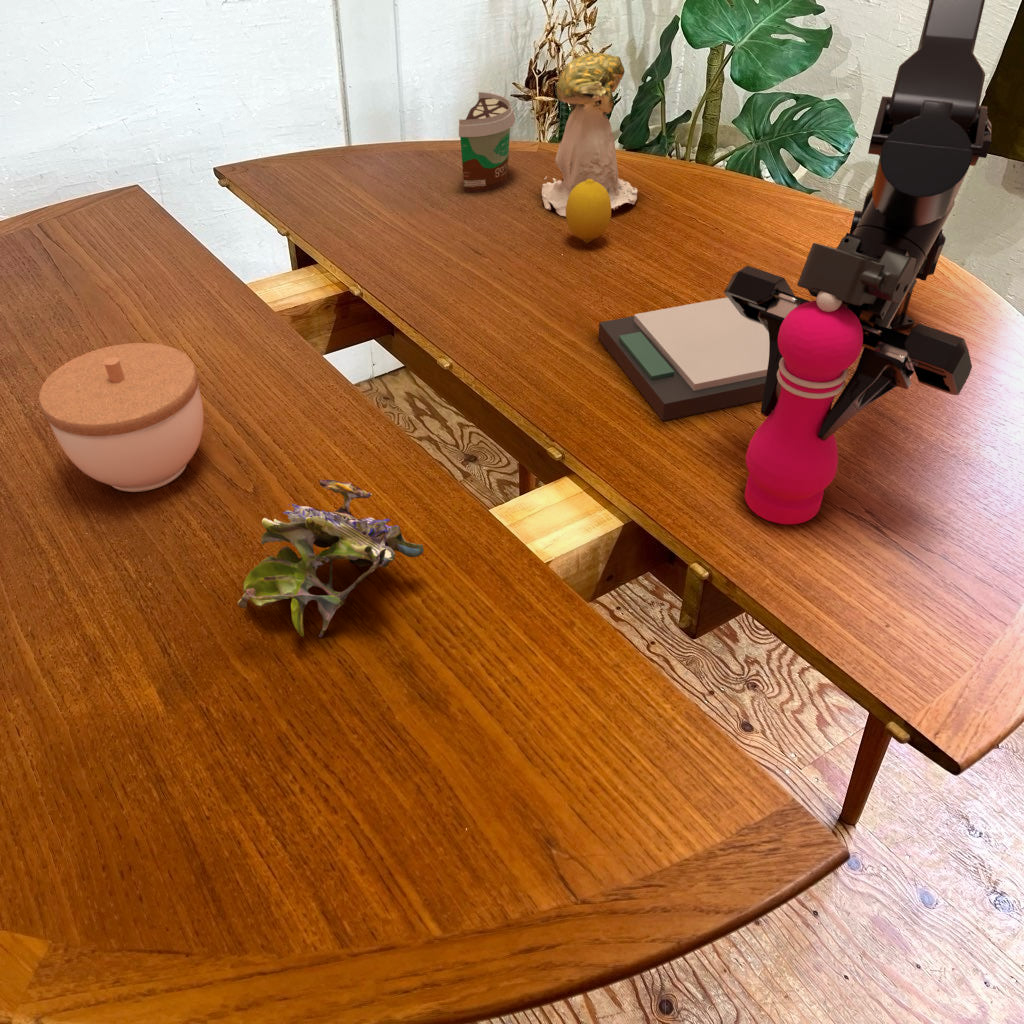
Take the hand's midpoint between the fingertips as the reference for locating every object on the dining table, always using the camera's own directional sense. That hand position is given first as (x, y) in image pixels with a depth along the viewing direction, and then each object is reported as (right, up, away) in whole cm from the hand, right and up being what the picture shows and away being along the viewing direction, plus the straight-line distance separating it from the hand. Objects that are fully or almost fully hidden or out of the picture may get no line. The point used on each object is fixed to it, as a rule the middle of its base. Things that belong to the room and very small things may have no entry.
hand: (791, 426), depth 75 cm
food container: (-24, +40, +60) cm, 76 cm away
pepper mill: (+1, -6, +7) cm, 9 cm away
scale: (-1, +9, +23) cm, 25 cm away
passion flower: (-35, -14, -1) cm, 38 cm away
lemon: (-12, +27, +45) cm, 54 cm away
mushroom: (-11, +35, +55) cm, 66 cm away
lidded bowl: (-55, -3, +11) cm, 56 cm away
